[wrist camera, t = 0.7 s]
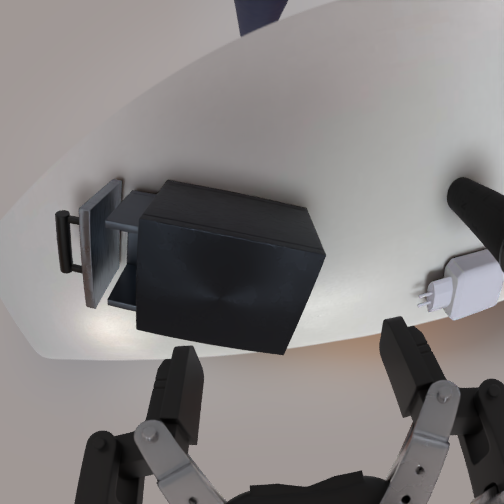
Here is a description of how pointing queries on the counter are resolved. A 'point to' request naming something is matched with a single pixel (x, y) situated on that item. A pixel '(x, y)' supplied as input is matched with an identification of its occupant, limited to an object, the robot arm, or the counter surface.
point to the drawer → (104, 243)
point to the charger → (466, 285)
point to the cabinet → (224, 267)
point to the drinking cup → (480, 213)
